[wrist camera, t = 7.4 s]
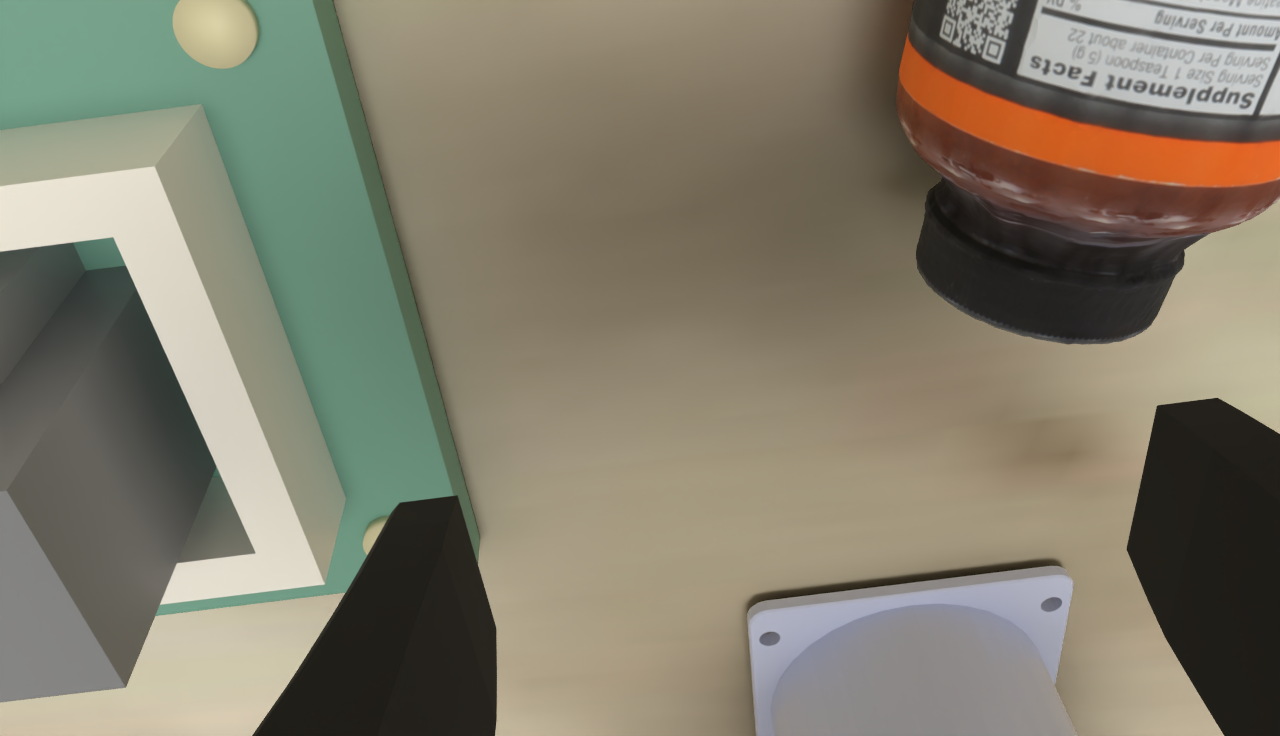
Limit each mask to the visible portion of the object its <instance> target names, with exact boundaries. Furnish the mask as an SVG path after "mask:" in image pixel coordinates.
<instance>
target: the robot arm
mask: <svg viewBox="0 0 1280 736" xmlns="http://www.w3.org/2000/svg"><path fill="white" fill-rule="evenodd" d="M1127 551H1128V554H1129V556H1130V558H1131V561H1132V563H1133V566H1134V568H1135V570H1136V573H1137V575H1138V578H1139V580H1140V582H1141V585H1142V587H1143V589H1144V592H1145V594H1146V597H1147V599H1148V601H1149V603H1150V605H1151V608H1152V610H1153V612H1154V614H1155V616H1156V618H1157V621H1158V623H1159V625H1160V627H1161V629H1162V631H1163V634H1164V636H1165V638H1166V639H1167V641H1168V643H1169V645H1170V646H1171V648H1172V650H1173V651H1174V653H1175V655H1176V657H1177V658H1178V660H1179V662H1180V663H1181V665H1182V667H1183V668H1184V670H1185V672H1186V673H1187V675H1188V677H1189V678H1190V680H1191V682H1192V683H1193V685H1194V687H1195V688H1196V690H1197V692H1198V693H1199V695H1200V697H1201V698H1202V700H1203V702H1204V703H1205V705H1206V707H1207V708H1208V710H1209V711H1210V713H1211V715H1212V716H1213V718H1214V720H1215V721H1216V723H1217V724H1218V726H1219V728H1220V729H1221V731H1222V733H1223V734H1224V736H1280V434H1279V433H1277V432H1275V431H1274V430H1272V429H1270V428H1269V427H1267V426H1265V425H1264V424H1262V423H1260V422H1259V421H1257V420H1255V419H1254V418H1252V417H1250V416H1249V415H1247V414H1245V413H1243V412H1242V411H1240V410H1238V409H1236V408H1235V407H1233V406H1231V405H1229V404H1227V403H1226V402H1224V401H1222V400H1220V399H1218V398H1213V399H1205V400H1197V401H1189V402H1182V403H1174V404H1166V405H1158V406H1157V409H1156V413H1155V418H1154V423H1153V428H1152V432H1151V437H1150V442H1149V446H1148V451H1147V456H1146V460H1145V465H1144V470H1143V474H1142V479H1141V484H1140V489H1139V493H1138V498H1137V503H1136V507H1135V512H1134V517H1133V521H1132V526H1131V531H1130V536H1129V540H1128V545H1127ZM1072 592H1073V581H1072V579H1071V577H1070V575H1069V573H1068V572H1067V571H1066V570H1065V568H1062V567H1060V566H1044V567H1036V568H1028V569H1020V570H1012V571H1004V572H995V573H987V574H979V575H971V576H963V577H954V578H946V579H938V580H930V581H922V582H913V583H905V584H897V585H889V586H881V587H873V588H864V589H856V590H848V591H840V592H832V593H823V594H815V595H807V596H799V597H791V598H783V599H774V600H766V601H762V602H759V603H757V604H755V605H754V606H752V607H751V608H750V610H749V611H748V614H747V626H748V639H749V652H750V666H751V679H752V692H753V705H754V718H755V732H756V736H1078V735H1077V733H1076V731H1075V728H1074V726H1073V724H1072V722H1071V720H1070V718H1069V716H1068V713H1067V711H1066V709H1065V707H1064V705H1063V703H1062V701H1061V698H1060V696H1059V694H1058V692H1057V690H1056V688H1055V684H1056V678H1057V673H1058V667H1059V662H1060V657H1061V651H1062V646H1063V640H1064V635H1065V630H1066V624H1067V619H1068V613H1069V608H1070V603H1071V597H1072ZM1048 598H1049V599H1048ZM767 632H771V633H768V634H767ZM496 712H497V653H496V626H495V622H494V619H493V615H492V612H491V609H490V605H489V602H488V598H487V595H486V591H485V588H484V584H483V581H482V577H481V574H480V571H479V567H478V564H477V560H476V557H475V553H474V550H473V546H472V543H471V540H470V536H469V533H468V529H467V526H466V522H465V519H464V515H463V512H462V508H461V505H460V502H459V498H458V495H455V496H448V497H440V498H432V499H424V500H416V501H409V502H401V503H399V504H398V505H397V506H396V507H395V509H394V510H393V511H392V512H391V514H390V516H389V517H388V519H387V521H386V523H385V525H384V527H383V528H382V530H381V532H380V534H379V536H378V537H377V539H376V541H375V543H374V544H373V546H372V548H371V550H370V552H369V553H368V555H367V557H366V559H365V560H364V562H363V564H362V566H361V567H360V569H359V571H358V573H357V574H356V576H355V578H354V580H353V581H352V583H351V585H350V586H349V588H348V590H347V591H346V593H345V595H344V596H343V598H342V600H341V602H340V603H339V605H338V607H337V608H336V610H335V612H334V613H333V615H332V616H331V618H330V620H329V621H328V623H327V624H326V626H325V627H324V629H323V631H322V632H321V634H320V635H319V637H318V639H317V640H316V642H315V643H314V645H313V647H312V648H311V650H310V651H309V653H308V654H307V656H306V658H305V659H304V661H303V662H302V664H301V666H300V667H299V669H298V670H297V672H296V673H295V675H294V676H293V678H292V679H291V681H290V682H289V684H288V685H287V687H286V688H285V690H284V691H283V693H282V694H281V695H280V697H279V698H278V700H277V701H276V703H275V704H274V705H273V707H272V708H271V710H270V711H269V713H268V714H267V715H266V717H265V718H264V720H263V721H262V723H261V724H260V725H259V727H258V728H257V730H256V731H255V733H254V734H253V735H252V736H495V729H496Z"/></svg>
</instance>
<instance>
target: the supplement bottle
mask: <svg viewBox="0 0 1280 736" xmlns="http://www.w3.org/2000/svg"><path fill="white" fill-rule="evenodd" d="M896 106H897V112H898V117H899V120H900V124H901V126H902V127H903V129H904V132H905V134H906V136H907V138H908V139H909V141H910V143H911V144H912V146H913V148H914V150H915V151H916V152H917V153H918V154H919V156H921V158H922V159H923V160H925V162H927V163H928V164H929V165H930V166H931V167H932V168H933V169H934V170H936V171H937V172H939V174H940V175H941V176H942V177H943V178H942V181H941V182H940V183H938V184H937V185H936V186H934V187H933V188H931V189H930V191H929V192H928V195H927V200H926V203H925V210H926V212H925V217H924V222H923V226H922V230H921V234H920V238H919V242H918V245H917V250H916V260H917V268H918V270H919V273H920V274H921V276H922V277H923V279H924V280H925V282H926V284H927V285H928V286H929V287H931V288H932V290H933V291H934V292H936V293H937V294H938V295H939V296H941V297H942V298H943V299H944V300H946V301H947V302H948V303H950V304H951V305H953V306H954V307H956V308H957V309H958V310H960V311H962V312H964V313H965V314H967V315H969V316H971V317H973V318H975V319H977V320H980V321H984V322H986V323H988V324H990V325H992V326H994V327H996V328H999V329H1002V330H1006V331H1009V332H1012V333H1016V334H1018V335H1021V336H1026V337H1032V338H1035V339H1040V340H1046V341H1052V342H1058V343H1064V344H1107V343H1112V342H1119V341H1123V340H1126V339H1128V338H1131V337H1134V336H1136V335H1138V334H1140V333H1142V332H1143V331H1144V330H1146V329H1147V328H1148V327H1149V326H1150V325H1151V324H1152V322H1153V321H1154V319H1155V318H1156V316H1157V314H1158V312H1159V310H1160V308H1161V306H1162V303H1163V301H1164V299H1165V297H1166V295H1167V293H1168V291H1169V289H1170V286H1171V284H1172V281H1173V279H1174V277H1175V275H1176V274H1177V273H1178V272H1179V271H1180V270H1181V269H1182V267H1183V265H1184V256H1185V253H1184V249H1186V248H1187V247H1189V246H1190V245H1192V244H1193V243H1195V242H1197V241H1198V240H1200V239H1202V238H1203V237H1205V236H1206V235H1208V234H1210V233H1212V232H1216V231H1219V230H1223V229H1226V228H1230V227H1233V226H1236V225H1239V224H1241V223H1242V222H1244V221H1247V220H1250V219H1252V218H1253V217H1255V216H1257V215H1259V214H1260V213H1262V212H1263V211H1265V210H1266V209H1267V208H1268V207H1269V206H1271V205H1272V204H1274V203H1276V202H1277V201H1278V200H1279V199H1280V0H915V1H914V3H913V8H912V15H911V21H910V25H909V30H908V34H907V38H906V43H905V47H904V51H903V56H902V60H901V64H900V69H899V78H898V86H897V102H896Z"/></svg>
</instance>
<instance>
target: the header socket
mask: <svg viewBox="0 0 1280 736" xmlns="http://www.w3.org/2000/svg"><path fill="white" fill-rule="evenodd" d="M111 237H113V238H114V240H115V242H116V244H117V247H118V249H119V251H120V253H121V256H122V258H123V260H124V262H125V264H126V267H127V269H128V271H129V273H130V275H131V278H132V280H133V282H134V284H135V287H136V289H137V291H138V293H139V295H140V298H141V300H142V302H143V304H144V307H145V309H146V311H147V313H148V315H149V318H150V320H151V322H152V324H153V326H154V329H155V331H156V333H157V335H158V338H159V340H160V342H161V344H162V346H163V349H164V351H165V353H166V355H167V357H168V360H169V362H170V364H171V366H172V369H173V371H174V373H175V375H176V377H177V380H178V382H179V384H180V386H181V389H182V391H183V393H184V395H185V397H186V400H187V402H188V404H189V406H190V408H191V411H192V413H193V415H194V417H195V420H196V422H197V424H198V426H199V428H200V431H201V433H202V435H203V437H204V440H205V442H206V444H207V446H208V448H209V451H210V453H211V455H212V457H213V459H214V462H215V464H216V466H217V468H218V471H219V473H220V475H221V476H219V477H212V479H211V481H210V484H209V486H208V489H207V491H206V494H205V496H204V498H203V501H202V503H201V506H200V508H199V511H198V513H197V515H196V518H195V520H194V523H193V525H192V528H191V530H190V532H189V535H188V537H187V540H186V542H185V545H184V547H183V549H182V552H181V554H180V557H179V559H178V562H177V564H176V567H175V569H174V571H173V574H172V576H171V579H170V581H169V584H168V586H167V588H166V591H165V593H164V596H163V598H162V601H161V603H160V605H162V604H170V603H178V602H186V601H195V600H203V599H211V598H219V597H227V596H235V595H243V594H251V593H260V592H268V591H276V590H284V589H292V588H300V587H308V586H316V585H325V582H326V578H327V574H328V570H329V566H330V562H331V558H332V554H333V550H334V546H335V542H336V538H337V534H338V530H339V526H340V522H341V518H342V514H343V509H344V505H345V501H346V497H345V494H344V492H343V489H342V486H341V483H340V481H339V478H338V475H337V473H336V470H335V467H334V464H333V462H332V459H331V456H330V453H329V451H328V448H327V445H326V442H325V440H324V437H323V434H322V432H321V429H320V426H319V423H318V421H317V418H316V415H315V412H314V410H313V407H312V404H311V401H310V399H309V396H308V393H307V391H306V388H305V385H304V382H303V380H302V377H301V374H300V371H299V369H298V366H297V363H296V360H295V358H294V355H293V352H292V350H291V347H290V344H289V341H288V339H287V336H286V333H285V330H284V328H283V325H282V322H281V320H280V317H279V314H278V311H277V309H276V306H275V303H274V300H273V298H272V295H271V292H270V289H269V287H268V284H267V281H266V279H265V276H264V273H263V270H262V268H261V265H260V262H259V259H258V257H257V254H256V251H255V248H254V246H253V243H252V240H251V238H250V235H249V232H248V229H247V227H246V224H245V221H244V218H243V216H242V213H241V210H240V207H239V205H238V202H237V199H236V197H235V194H234V191H233V188H232V186H231V183H230V180H229V177H228V175H227V172H226V169H225V167H224V164H223V161H222V158H221V156H220V153H219V150H218V147H217V145H216V142H215V139H214V136H213V134H212V131H211V128H210V126H209V123H208V120H207V117H206V115H205V112H204V109H203V106H202V104H198V105H190V106H183V107H175V108H167V109H160V110H152V111H144V112H136V113H129V114H121V115H113V116H105V117H98V118H90V119H82V120H75V121H67V122H59V123H51V124H44V125H36V126H28V127H21V128H13V129H5V130H0V252H1V251H9V250H17V249H25V248H33V247H40V246H48V245H56V244H64V243H72V242H80V241H87V240H95V239H103V238H111Z"/></svg>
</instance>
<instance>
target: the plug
mask: <svg viewBox="0 0 1280 736" xmlns="http://www.w3.org/2000/svg"><path fill="white" fill-rule="evenodd" d="M216 467H217V466H216V464H215V462H214V459H213V457H212V455H211V453H210V451H209V448H208V446H207V444H206V442H205V440H204V437H203V435H202V433H201V431H200V428H199V426H198V424H197V422H196V420H195V417H194V415H193V413H192V411H191V408H190V406H189V404H188V402H187V400H186V397H185V395H184V393H183V391H182V389H181V386H180V384H179V382H178V380H177V377H176V375H175V373H174V371H173V369H172V366H171V364H170V362H169V360H168V357H167V355H166V353H165V351H164V349H163V346H162V344H161V342H160V340H159V338H158V335H157V333H156V331H155V329H154V326H153V324H152V322H151V320H150V318H149V315H148V313H147V311H146V309H145V307H144V304H143V302H142V300H141V298H140V295H139V293H138V291H137V289H136V287H135V284H134V282H133V280H132V278H131V275H130V273H129V271H128V269H127V267H126V266H118V267H110V268H102V269H94V270H86V269H85V267H84V265H83V263H82V261H81V259H80V257H79V255H78V252H77V250H76V248H75V246H74V244H73V242H72V243H64V244H56V245H48V246H40V247H33V248H25V249H17V250H9V251H1V252H0V702H7V701H16V700H24V699H33V698H41V697H50V696H58V695H67V694H75V693H84V692H92V691H101V690H109V689H118V688H126V686H127V683H128V681H129V678H130V676H131V674H132V671H133V669H134V666H135V664H136V661H137V659H138V657H139V654H140V652H141V649H142V647H143V644H144V642H145V639H146V637H147V635H148V632H149V630H150V627H151V625H152V622H153V620H154V618H155V615H156V613H157V610H158V608H159V605H160V603H161V601H162V598H163V596H164V593H165V591H166V588H167V586H168V584H169V581H170V579H171V576H172V574H173V571H174V569H175V567H176V564H177V562H178V559H179V557H180V554H181V552H182V549H183V547H184V545H185V542H186V540H187V537H188V535H189V532H190V530H191V528H192V525H193V523H194V520H195V518H196V515H197V513H198V511H199V508H200V506H201V503H202V501H203V498H204V496H205V494H206V491H207V489H208V486H209V484H210V481H211V479H212V477H213V474H214V472H215V469H216Z"/></svg>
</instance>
